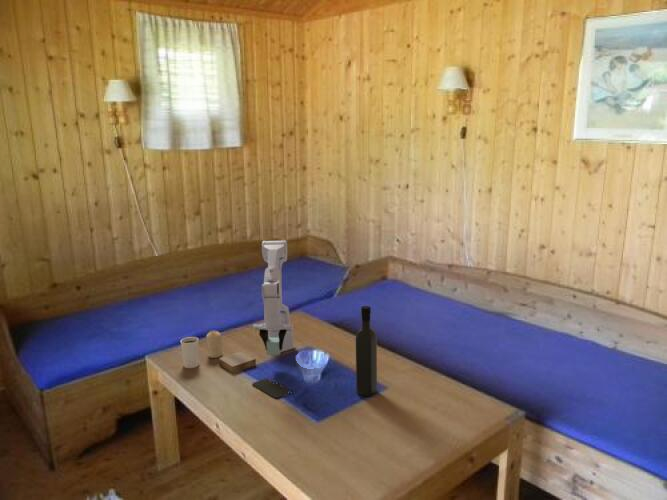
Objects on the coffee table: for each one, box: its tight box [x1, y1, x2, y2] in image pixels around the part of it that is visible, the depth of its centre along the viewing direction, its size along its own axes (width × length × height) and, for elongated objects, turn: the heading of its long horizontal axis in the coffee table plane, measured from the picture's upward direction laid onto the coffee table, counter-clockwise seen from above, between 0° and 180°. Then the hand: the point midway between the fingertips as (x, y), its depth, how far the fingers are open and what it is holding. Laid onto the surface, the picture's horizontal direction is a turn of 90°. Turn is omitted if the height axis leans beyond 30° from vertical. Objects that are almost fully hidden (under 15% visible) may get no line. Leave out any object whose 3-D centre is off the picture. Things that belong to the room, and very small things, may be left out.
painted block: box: [266, 336, 282, 356], centre depth 202 cm, size 4×4×5 cm
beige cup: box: [180, 336, 200, 369], centre depth 207 cm, size 7×7×10 cm
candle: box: [206, 329, 223, 359], centre depth 215 cm, size 6×6×10 cm
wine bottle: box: [355, 305, 378, 398], centre depth 180 cm, size 6×6×30 cm
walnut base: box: [218, 350, 257, 374], centre depth 207 cm, size 10×10×3 cm
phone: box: [251, 377, 293, 400], centre depth 188 cm, size 7×1×15 cm
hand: (274, 348), depth 202 cm, fingers closed on painted block, 4 cm apart
